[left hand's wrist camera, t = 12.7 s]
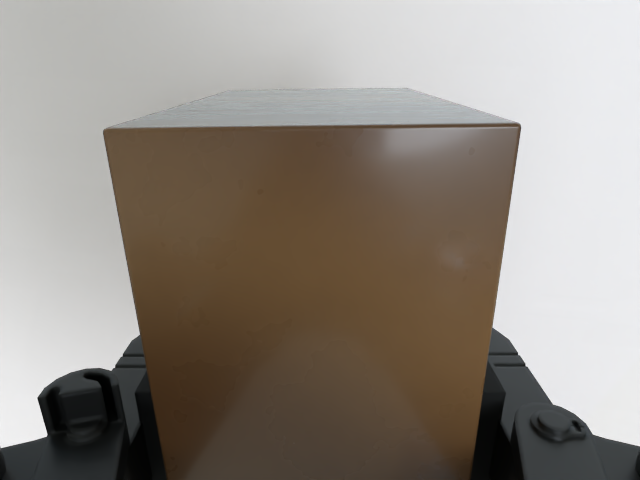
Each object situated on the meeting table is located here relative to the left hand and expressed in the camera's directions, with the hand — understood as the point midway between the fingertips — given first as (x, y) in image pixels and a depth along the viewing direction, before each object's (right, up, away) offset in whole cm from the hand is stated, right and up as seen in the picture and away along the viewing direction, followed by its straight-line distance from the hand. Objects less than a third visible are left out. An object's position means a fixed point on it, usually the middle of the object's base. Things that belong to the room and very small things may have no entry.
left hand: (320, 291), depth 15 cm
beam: (0, -20, +8) cm, 21 cm away
